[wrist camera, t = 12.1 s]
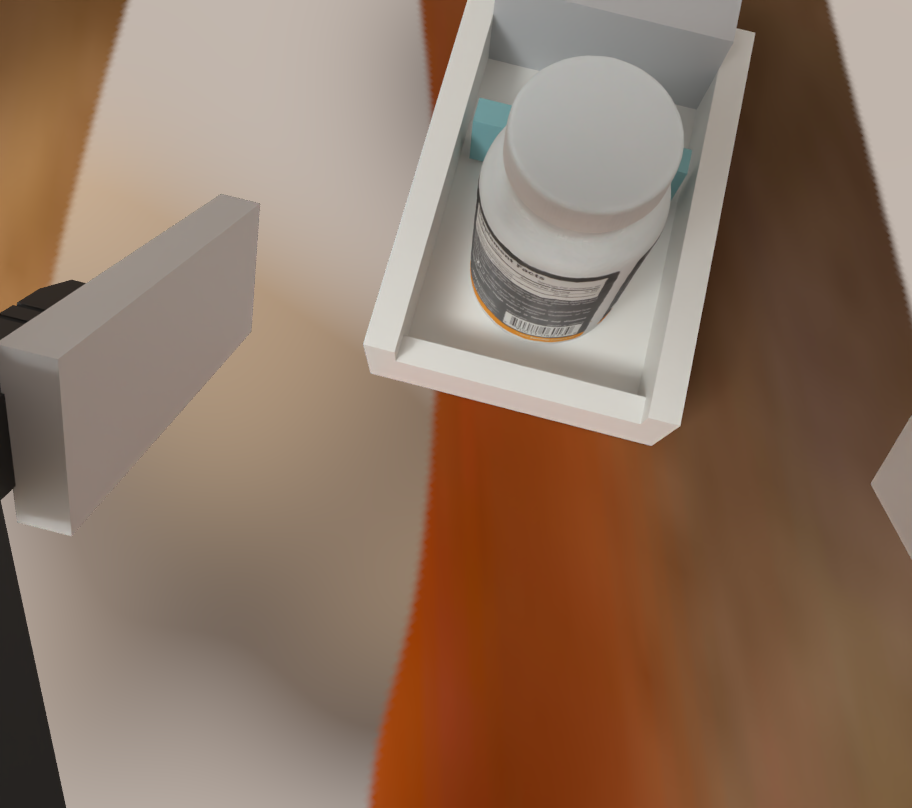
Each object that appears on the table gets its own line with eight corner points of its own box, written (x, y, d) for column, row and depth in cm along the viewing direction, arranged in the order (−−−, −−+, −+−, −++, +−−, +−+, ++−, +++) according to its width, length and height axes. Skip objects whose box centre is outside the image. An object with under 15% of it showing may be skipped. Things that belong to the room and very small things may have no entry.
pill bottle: (544, 184, 31) (598, -3, 21) (647, 286, 30) (751, 139, 20) (437, 272, 30) (441, 117, 20) (540, 380, 29) (596, 273, 19)
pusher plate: (487, 94, 31) (492, 52, 29) (680, 142, 31) (701, 103, 29) (469, 158, 31) (473, 120, 28) (666, 207, 31) (687, 173, 28)
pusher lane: (473, 29, 34) (480, -67, 29) (722, 90, 33) (772, 3, 28) (370, 373, 30) (359, 329, 25) (651, 446, 29) (695, 415, 25)
